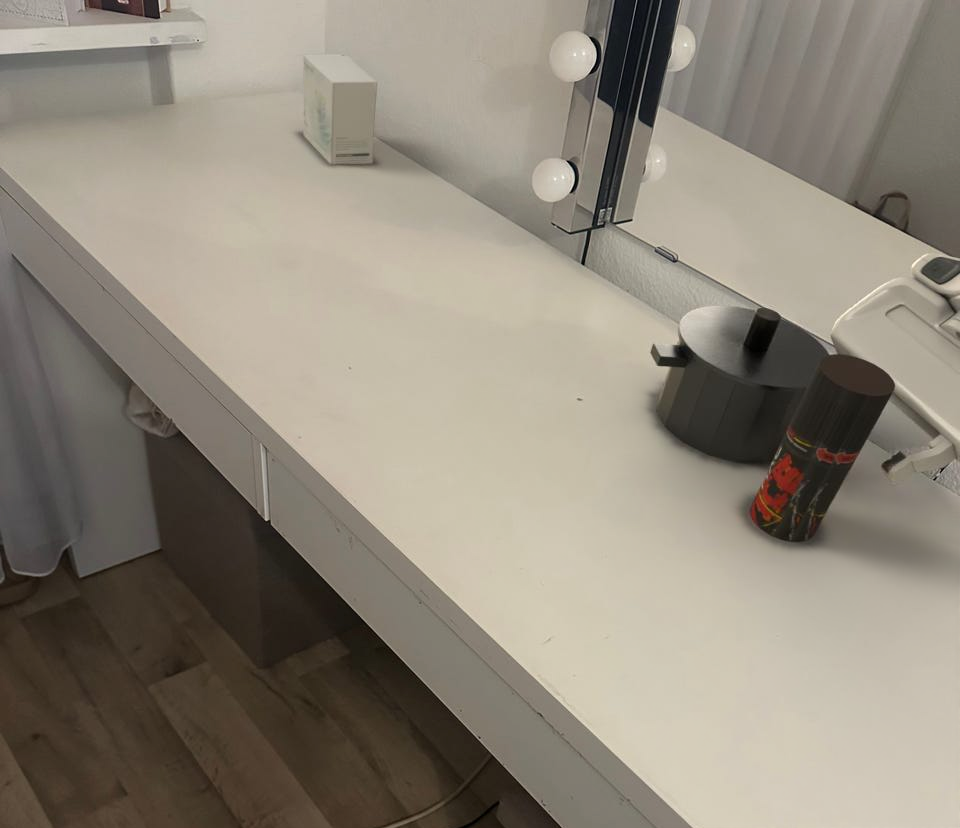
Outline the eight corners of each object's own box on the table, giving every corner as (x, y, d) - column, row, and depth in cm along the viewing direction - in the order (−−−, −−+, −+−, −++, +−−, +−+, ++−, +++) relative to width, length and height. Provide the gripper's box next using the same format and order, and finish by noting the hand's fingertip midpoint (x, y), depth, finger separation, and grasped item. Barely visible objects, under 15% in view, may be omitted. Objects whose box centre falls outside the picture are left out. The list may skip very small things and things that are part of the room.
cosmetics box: (300, 138, 125) (301, 51, 118) (344, 138, 128) (348, 53, 120) (328, 169, 119) (332, 79, 112) (373, 168, 122) (379, 80, 115)
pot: (615, 384, 93) (638, 305, 87) (782, 393, 97) (815, 319, 91) (652, 464, 84) (681, 383, 78) (835, 471, 88) (876, 394, 82)
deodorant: (819, 551, 79) (905, 401, 68) (754, 542, 78) (830, 389, 67) (804, 508, 83) (882, 360, 72) (741, 499, 82) (811, 349, 71)
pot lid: (656, 310, 88) (669, 269, 85) (791, 321, 91) (808, 282, 88) (704, 394, 78) (721, 351, 75) (854, 402, 81) (875, 361, 78)
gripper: (1104, 423, 68) (940, 539, 72) (926, 292, 80) (794, 396, 84) (1102, 374, 63) (927, 500, 67) (913, 242, 76) (774, 355, 79)
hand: (852, 441), depth 75 cm, fingers open, 8 cm apart
